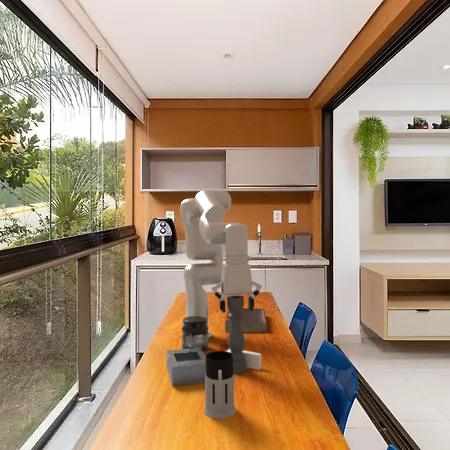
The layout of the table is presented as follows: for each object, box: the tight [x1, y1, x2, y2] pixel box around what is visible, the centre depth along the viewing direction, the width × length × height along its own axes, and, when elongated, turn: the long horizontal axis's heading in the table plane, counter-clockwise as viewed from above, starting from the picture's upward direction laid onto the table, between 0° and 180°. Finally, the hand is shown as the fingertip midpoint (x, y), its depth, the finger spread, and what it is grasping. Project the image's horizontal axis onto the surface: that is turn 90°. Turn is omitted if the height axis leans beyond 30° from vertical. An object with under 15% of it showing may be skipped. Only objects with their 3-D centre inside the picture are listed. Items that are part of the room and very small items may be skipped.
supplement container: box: [181, 316, 209, 352], centre depth 162 cm, size 10×10×12 cm
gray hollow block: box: [166, 347, 206, 387], centre depth 136 cm, size 16×12×6 cm
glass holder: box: [203, 350, 237, 420], centre depth 108 cm, size 9×14×15 cm, turn 2°
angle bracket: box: [225, 348, 262, 371], centre depth 143 cm, size 10×17×5 cm, turn 104°
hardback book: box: [224, 307, 268, 334], centre depth 199 cm, size 29×19×5 cm, turn 176°
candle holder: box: [226, 294, 247, 375], centre depth 139 cm, size 6×6×25 cm
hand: (237, 310), depth 139 cm, fingers open, 9 cm apart
